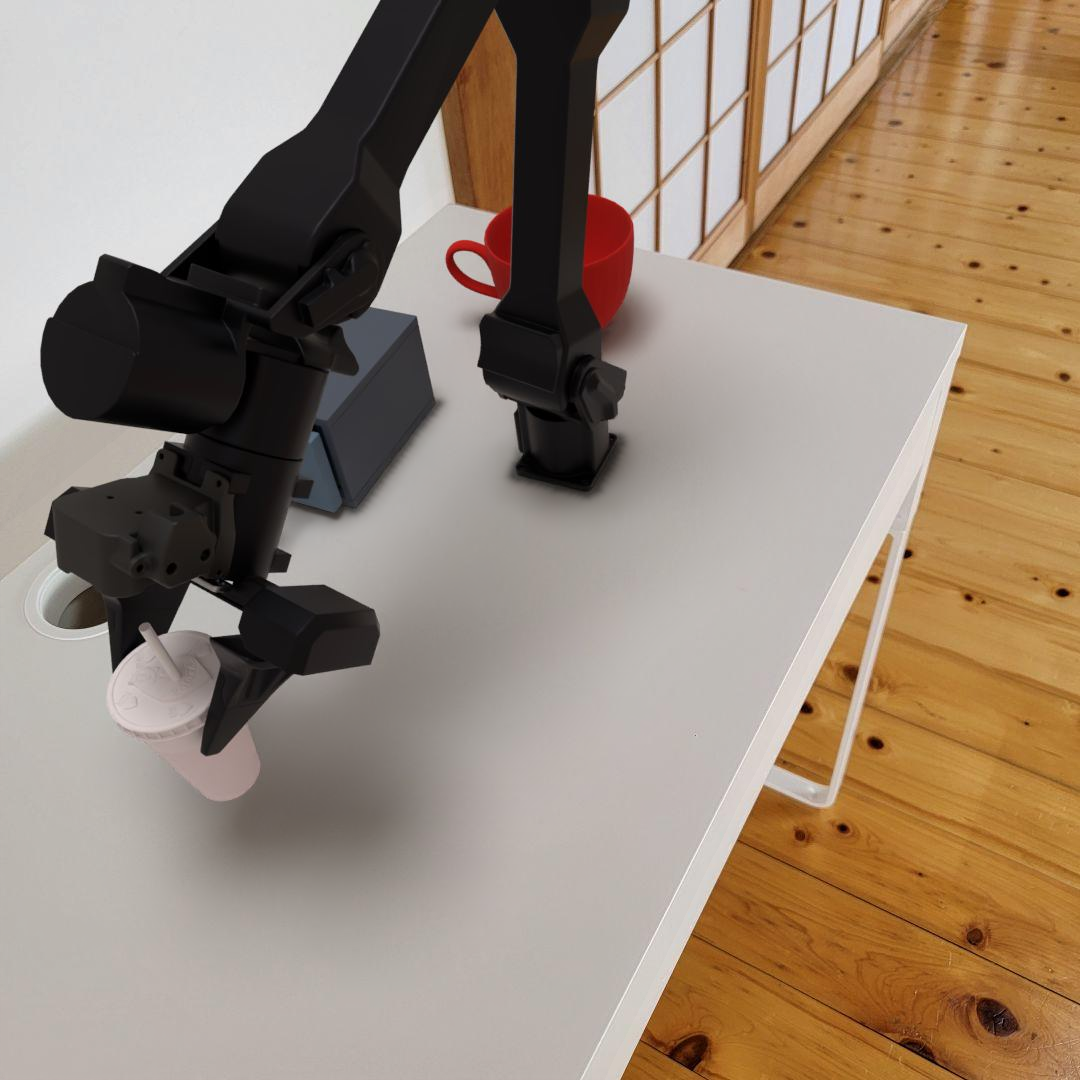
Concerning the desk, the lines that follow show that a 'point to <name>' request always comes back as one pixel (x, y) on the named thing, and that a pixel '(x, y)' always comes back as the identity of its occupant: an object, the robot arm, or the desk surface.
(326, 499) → the drawer
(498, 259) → the ceramic cup
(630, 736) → the desk surface
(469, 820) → the desk surface
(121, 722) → the smoothie
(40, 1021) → the desk surface
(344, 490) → the dispenser
